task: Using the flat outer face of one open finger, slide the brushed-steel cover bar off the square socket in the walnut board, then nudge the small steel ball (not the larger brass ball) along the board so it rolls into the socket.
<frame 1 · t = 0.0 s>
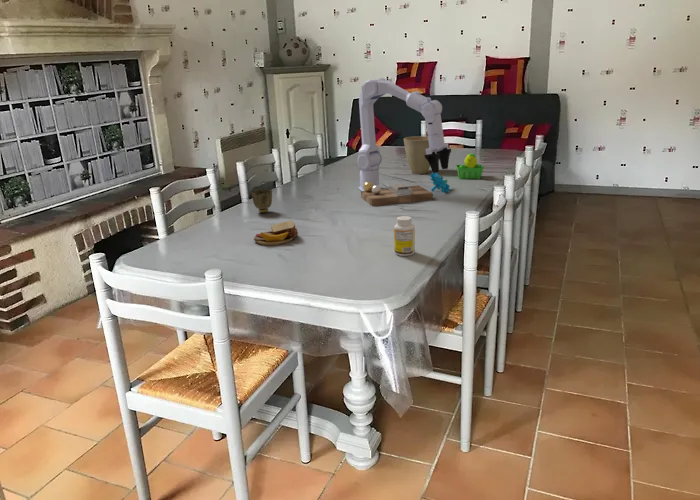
hand: (440, 170, 210), 11 cm above the table, tool pointing down, fingers open, 7 cm apart
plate: (396, 198, 216), on the table
toy sandwich meal: (276, 240, 173), on the table
cover: (400, 189, 213), point 4 cm above the table, slide at 0.0 cm
blue irregular figure: (440, 192, 224), on the table
cup: (263, 212, 204), on the table
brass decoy: (368, 186, 217), point 4 cm above the table, touching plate
fruit basket: (469, 178, 246), on the table
plant pot: (419, 172, 262), on the table
supplement bottle: (404, 254, 155), on the table
steel ball: (376, 189, 212), point 4 cm above the table, touching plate
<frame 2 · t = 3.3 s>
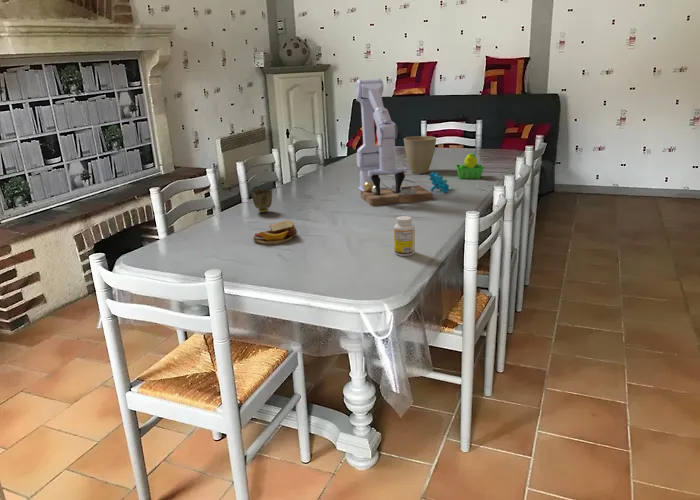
hand: (387, 193, 209), 3 cm above the table, tool pointing down, fingers open, 7 cm apart
cover: (403, 188, 213), point 4 cm above the table, slide at 1.2 cm, touching gripper
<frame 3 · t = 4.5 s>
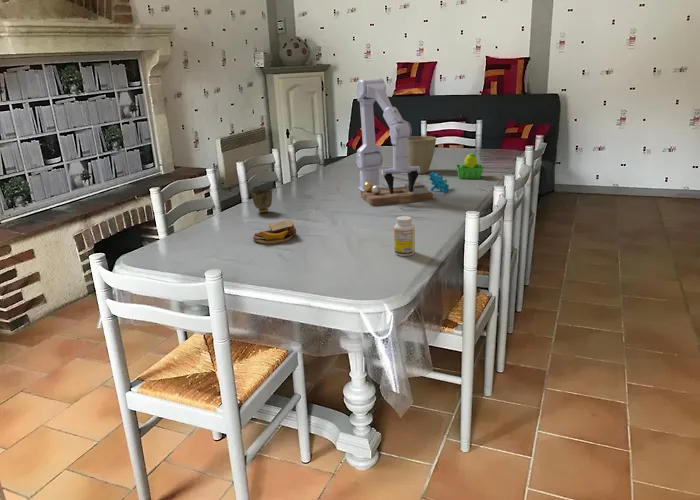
hand: (401, 192, 210), 3 cm above the table, tool pointing down, fingers open, 7 cm apart
cover: (416, 187, 214), point 4 cm above the table, slide at 6.4 cm, touching gripper
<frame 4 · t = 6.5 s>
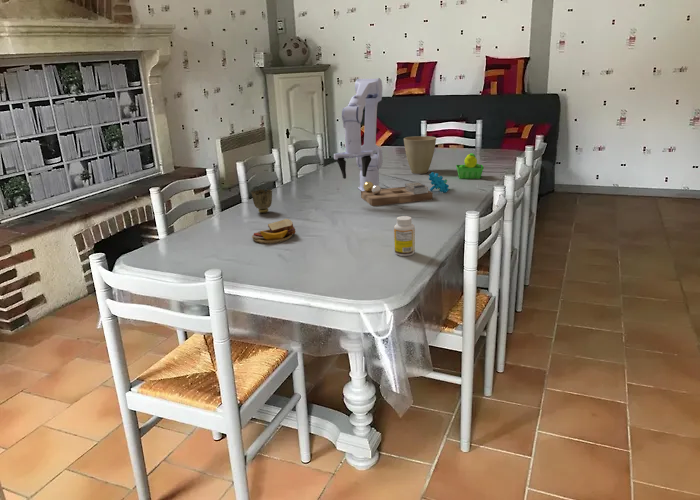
hand: (354, 177, 208), 10 cm above the table, tool pointing down, fingers open, 7 cm apart
cover: (416, 187, 214), point 4 cm above the table, slide at 6.5 cm
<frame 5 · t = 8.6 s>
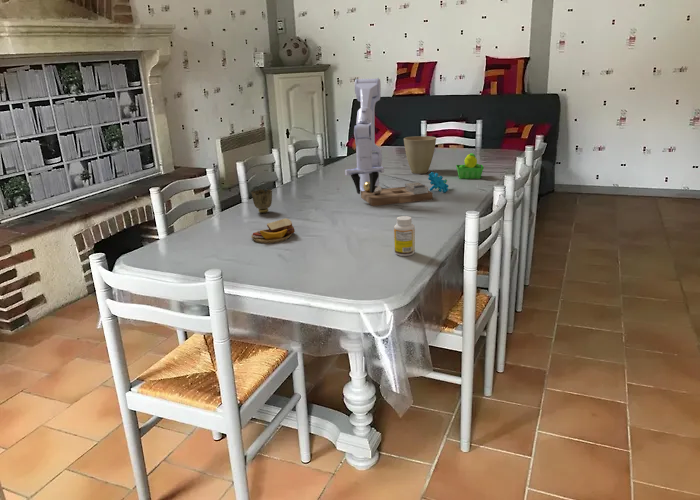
hand: (365, 192, 212), 4 cm above the table, tool pointing down, fingers open, 5 cm apart
steel ball: (377, 189, 212), point 4 cm above the table, tilted 9°, touching gripper, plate
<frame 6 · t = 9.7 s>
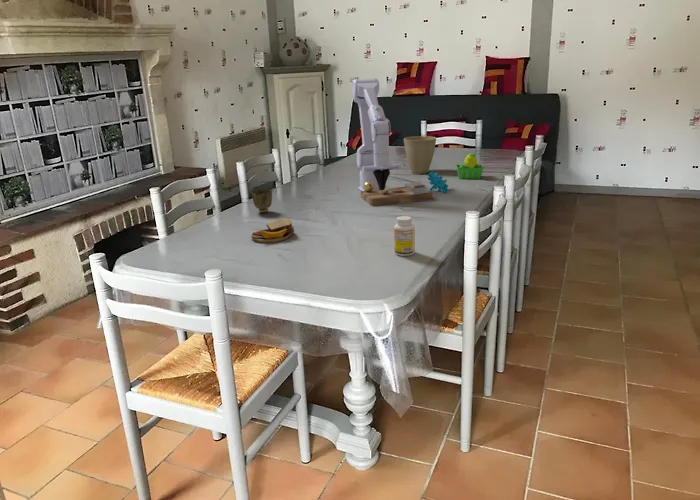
hand: (382, 189, 212), 4 cm above the table, tool pointing down, fingers closed, pressing on steel ball
steel ball: (384, 189, 213), point 4 cm above the table, tilted 109°, touching gripper, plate
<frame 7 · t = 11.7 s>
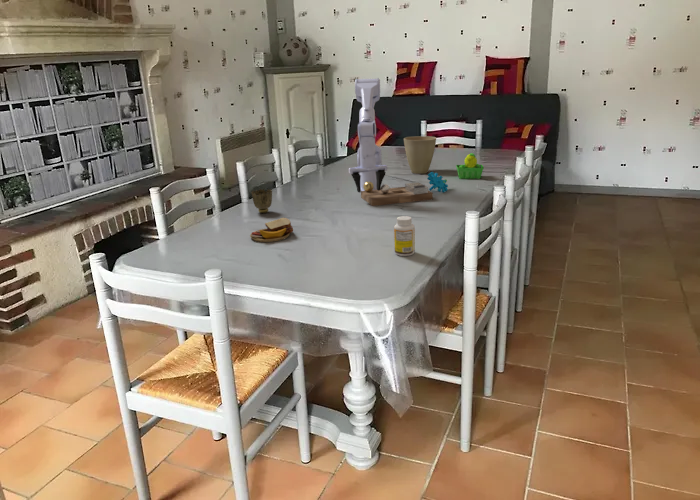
hand: (368, 190, 212), 4 cm above the table, tool pointing down, fingers open, 7 cm apart
steel ball: (385, 188, 213), point 4 cm above the table, tilted 111°, touching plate
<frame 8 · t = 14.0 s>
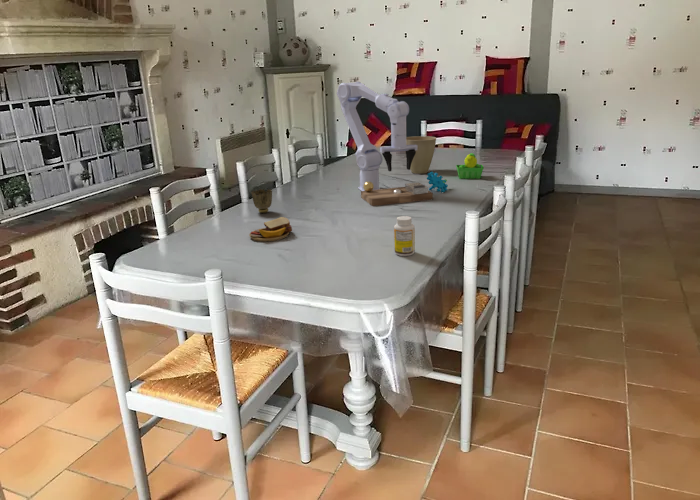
hand: (399, 170, 218), 10 cm above the table, tool pointing down, fingers open, 7 cm apart
steel ball: (397, 193, 216), point 2 cm above the table, tilted 31°
at the end: steel ball 0.6 cm from the target spot in the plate, point 1.7 cm above the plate's base; cover slide at 6.5 cm; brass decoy moved 0.1 cm from its start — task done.
